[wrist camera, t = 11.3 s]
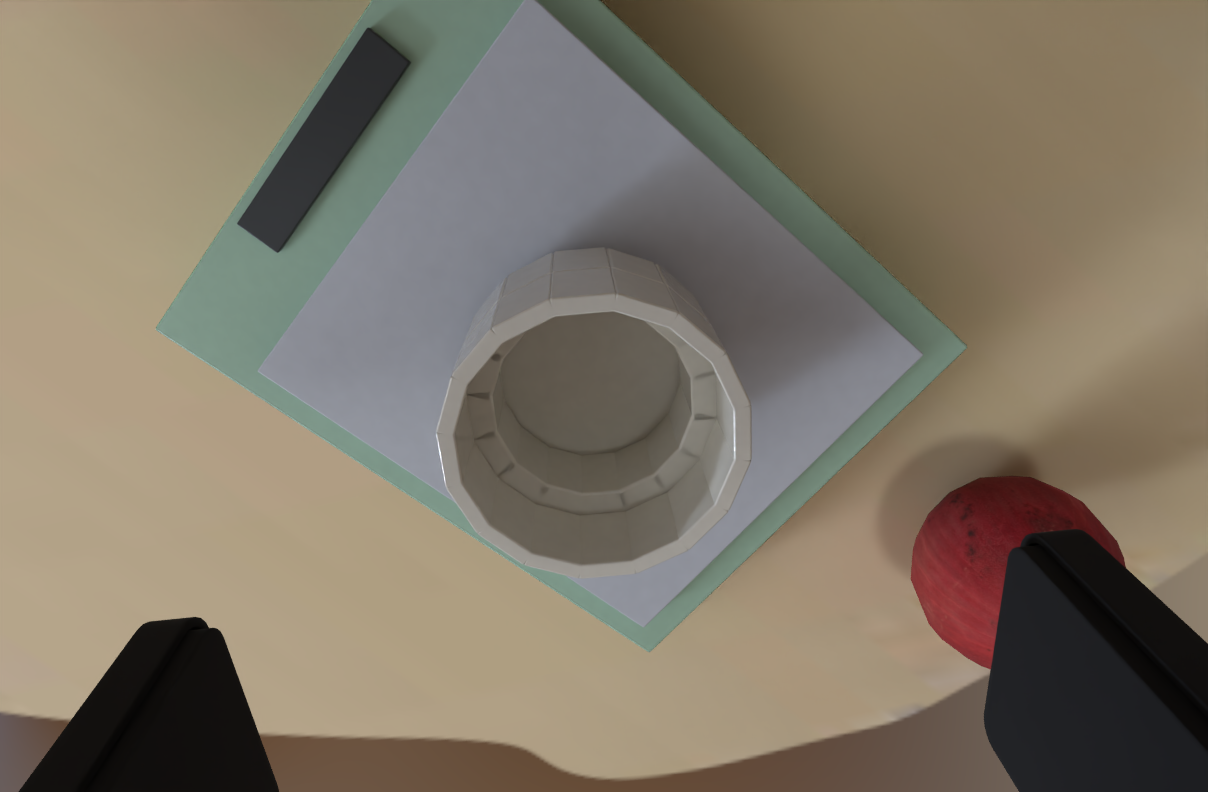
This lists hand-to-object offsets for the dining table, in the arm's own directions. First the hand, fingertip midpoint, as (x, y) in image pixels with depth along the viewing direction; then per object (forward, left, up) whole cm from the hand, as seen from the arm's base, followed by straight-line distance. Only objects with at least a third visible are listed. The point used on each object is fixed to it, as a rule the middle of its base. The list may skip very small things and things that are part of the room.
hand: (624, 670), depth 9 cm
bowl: (+1, -1, -13) cm, 13 cm away
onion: (+15, +2, -16) cm, 22 cm away
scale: (0, -1, -16) cm, 16 cm away
